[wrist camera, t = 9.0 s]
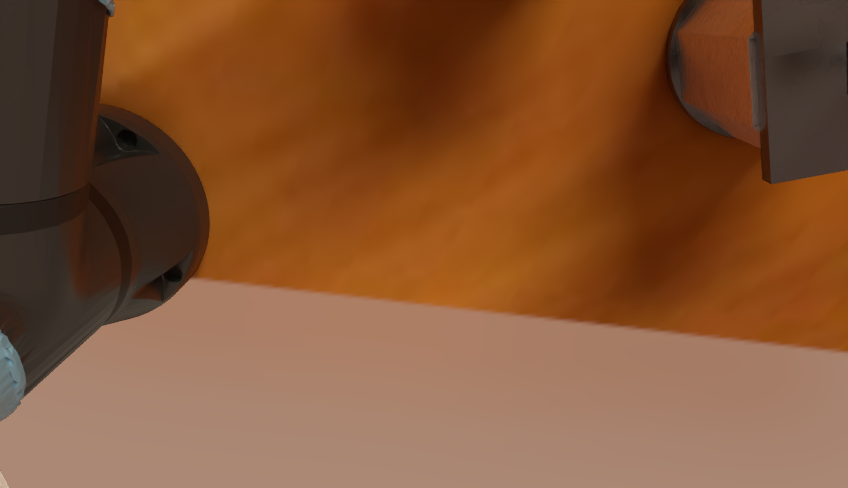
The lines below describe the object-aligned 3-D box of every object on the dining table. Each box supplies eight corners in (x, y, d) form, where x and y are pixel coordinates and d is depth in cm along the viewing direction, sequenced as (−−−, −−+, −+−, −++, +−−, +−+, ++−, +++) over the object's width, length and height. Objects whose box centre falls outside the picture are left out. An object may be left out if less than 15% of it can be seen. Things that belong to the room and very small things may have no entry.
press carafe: (673, 151, 46) (755, 203, 34) (652, -70, 42) (736, -104, 30) (848, 118, 45) (998, 158, 33) (844, -113, 41) (1015, -167, 28)
